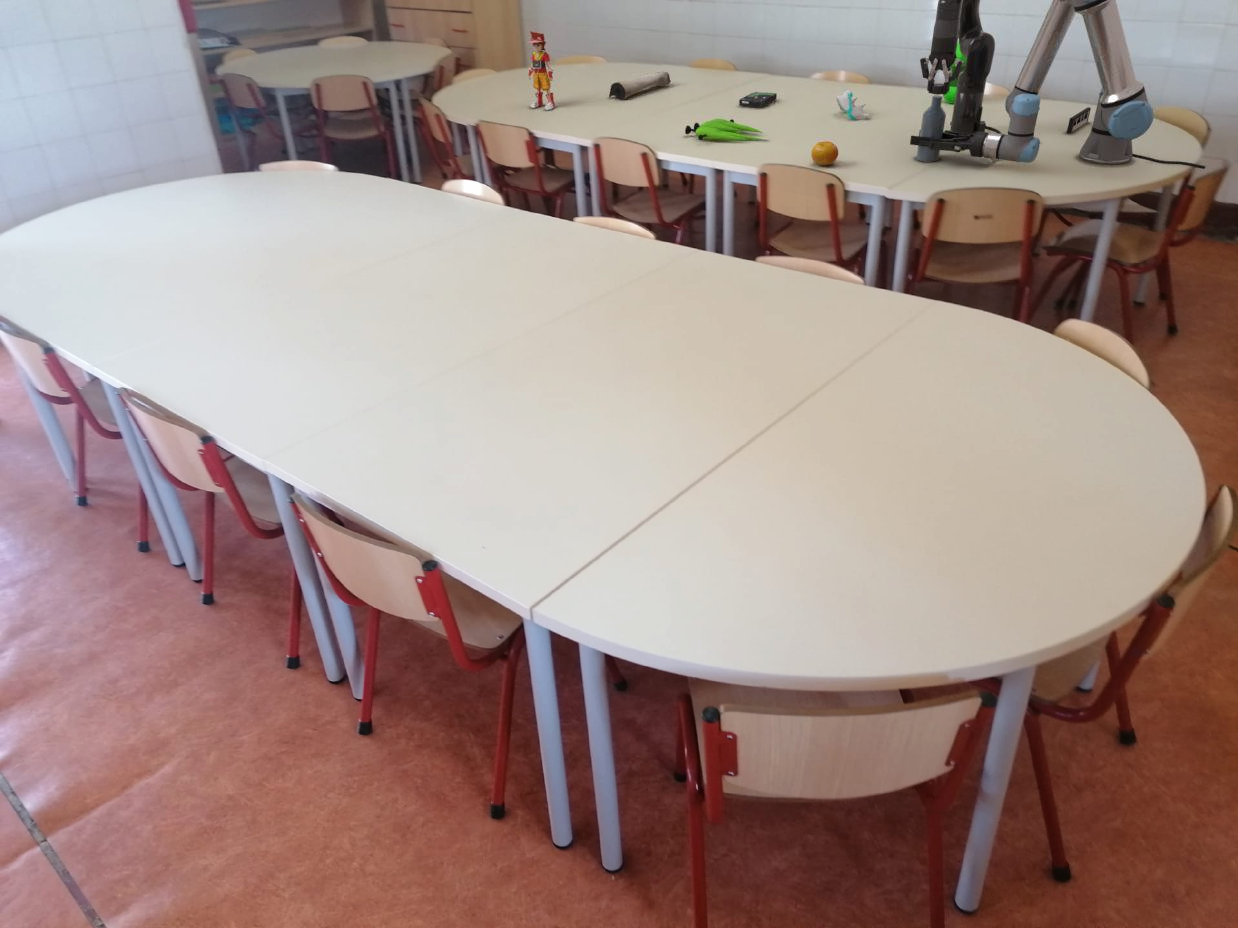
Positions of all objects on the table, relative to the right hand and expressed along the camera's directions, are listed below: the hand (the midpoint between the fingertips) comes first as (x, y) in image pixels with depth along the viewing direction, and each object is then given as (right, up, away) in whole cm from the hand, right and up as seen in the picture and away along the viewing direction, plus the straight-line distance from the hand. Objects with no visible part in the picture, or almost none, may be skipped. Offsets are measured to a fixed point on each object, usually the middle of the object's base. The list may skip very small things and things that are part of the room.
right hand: (915, 137), depth 295 cm
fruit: (-30, -8, +2) cm, 31 cm away
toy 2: (-57, +13, +35) cm, 69 cm away
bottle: (+4, -7, +1) cm, 8 cm away
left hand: (+4, +10, -11) cm, 15 cm away
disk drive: (-41, +41, +74) cm, 94 cm away
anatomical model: (-8, +27, +51) cm, 58 cm away
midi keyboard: (+64, +11, +21) cm, 69 cm away
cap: (+4, +12, -12) cm, 17 cm away
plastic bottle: (+35, +35, +59) cm, 77 cm away
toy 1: (-131, +45, +87) cm, 163 cm away
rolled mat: (-88, +57, +102) cm, 146 cm away
